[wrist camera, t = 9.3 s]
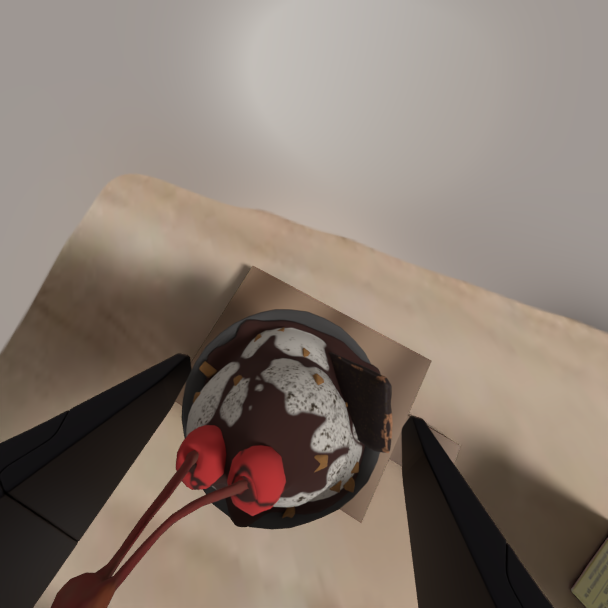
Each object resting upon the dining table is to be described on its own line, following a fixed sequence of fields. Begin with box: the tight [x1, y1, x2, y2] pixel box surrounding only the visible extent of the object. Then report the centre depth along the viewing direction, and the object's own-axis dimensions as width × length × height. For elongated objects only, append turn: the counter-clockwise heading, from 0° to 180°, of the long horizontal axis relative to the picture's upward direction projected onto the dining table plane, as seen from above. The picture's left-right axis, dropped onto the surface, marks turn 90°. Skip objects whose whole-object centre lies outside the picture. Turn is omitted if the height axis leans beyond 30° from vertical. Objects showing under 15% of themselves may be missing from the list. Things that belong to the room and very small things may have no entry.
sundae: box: [51, 309, 393, 608], centre depth 10 cm, size 7×7×15 cm
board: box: [176, 266, 461, 523], centre depth 18 cm, size 20×12×2 cm, turn 61°
